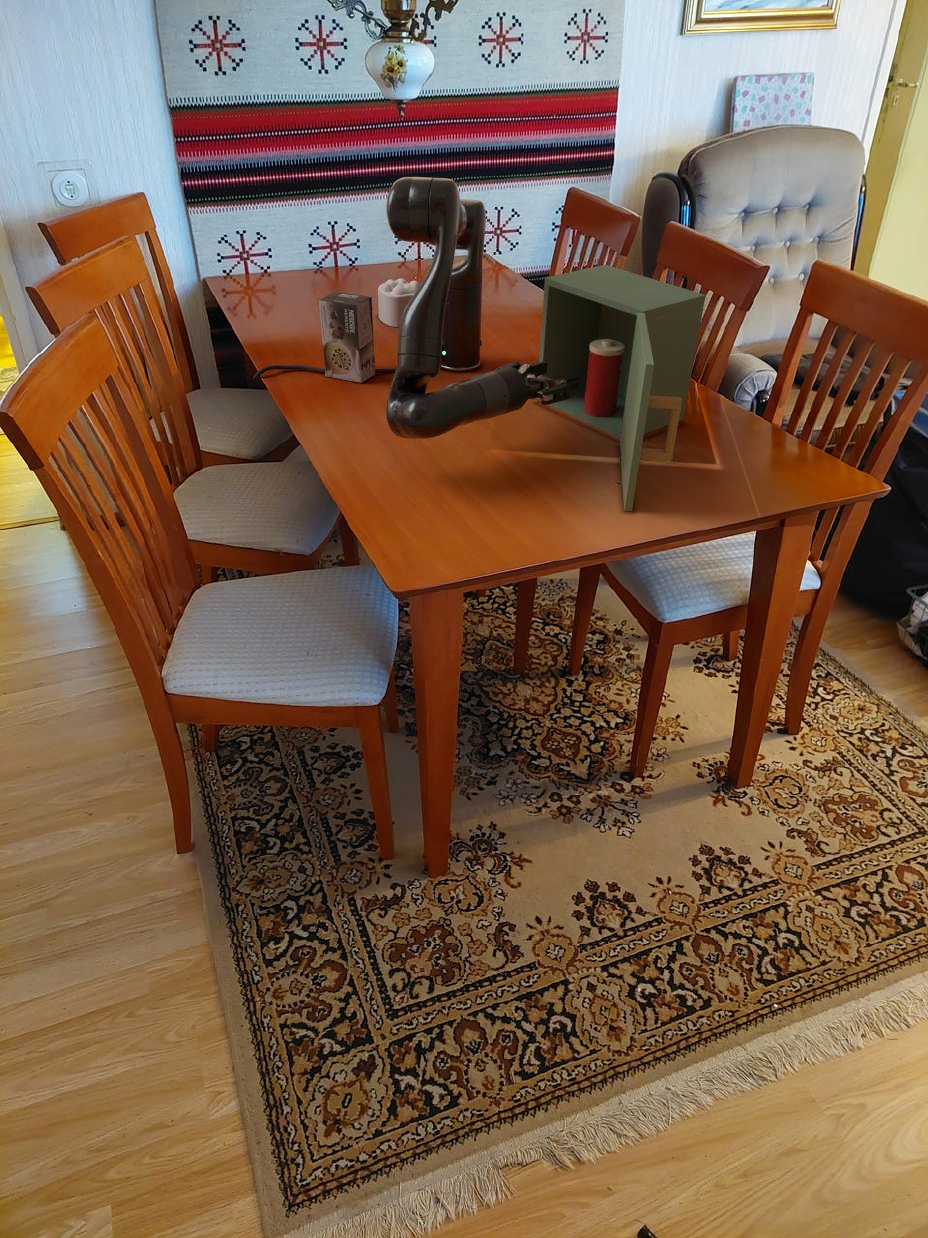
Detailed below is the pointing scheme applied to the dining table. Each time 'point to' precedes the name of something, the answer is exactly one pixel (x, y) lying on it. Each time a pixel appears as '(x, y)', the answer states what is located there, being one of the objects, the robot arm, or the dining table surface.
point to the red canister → (603, 377)
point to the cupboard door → (642, 414)
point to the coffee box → (347, 336)
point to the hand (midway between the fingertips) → (561, 374)
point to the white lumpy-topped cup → (395, 300)
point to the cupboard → (619, 335)
